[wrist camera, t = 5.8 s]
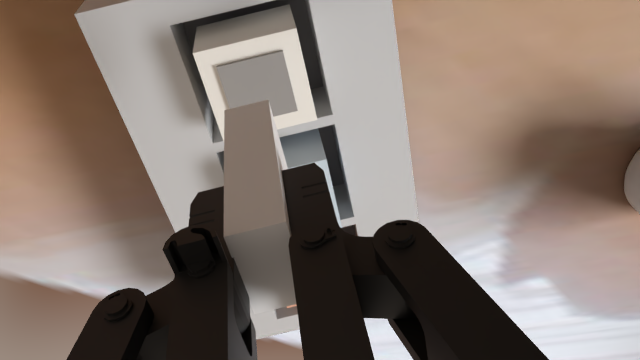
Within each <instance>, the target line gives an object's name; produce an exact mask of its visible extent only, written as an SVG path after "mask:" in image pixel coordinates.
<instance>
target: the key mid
mask: <svg viewBox="0 0 640 360" xmlns="http://www.w3.org/2000/svg"><path fill="white" fill-rule="evenodd" d="M279 139H280V142H281V146H282V149H283V153H284V156H285V160H286V163H287V167H288V169H290V168H294V167H298V166H302V165H306V164H310V163H315V164H317V165H318V166H319V167H320V168H321V169H323V170H324V174H325V177H326V181H327V185H328V189H329V192H330V196H331V200H332V203H333V207H334V211H335V215H336V218H337V222H338V224H339V226H340V228H342V225H341V220H340V216H339V212H338V207H337V203H336V199H335V194H334V190H333V185H332V181H331V177H330V172H329V168H328V164H327V159H326V156H325V152H324V148H323V144H322V141H321V137H320V133H319V130H318V128H317V129H313V130H309V131H305V132H300V133H296V134H292V135H288V136H284V137H280V138H279Z"/></svg>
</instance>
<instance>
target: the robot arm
mask: <svg viewBox="0 0 640 360" xmlns="http://www.w3.org/2000/svg"><path fill="white" fill-rule="evenodd" d="M189 217H190V218H189V225H188V227H186V228H183V229H181V230H179V231H178V232H176V233H175V234H173V235H172V236H171V237H170V238H169V239H168V240H167V241H166V243H165V245H164V248H163V251H164V253H165V255H166V257H167V259H168V261H169V263H170V265H171V267H172V269H173V271H174V273H175V277H174V280H173V281H172V282H170V283H169V284H168V285H166V286H164V287H162V288H161V289H159V290H157V291H155V292H153V293H151V294H149V295H147V296H145V295H144V293H143V292H141V291H140V290H138V289H133V288H127V289H122V290H118V291H116V292H114V293H112V294H110V295H108V296H107V297H105V298H104V299H103V300H102V301H100V302H99V303H98V305H97V306H96V307H95V309H94V310H93V311H92V314H91V315H90V317H89V319H88V321H87V323H86V324H85V326H84V328H83V330H82V332H81V334H80V336H79V337H78V340H77V341H76V343H75V345H74V347H73V349H72V351H71V352H70V354H69V356H68V358H67V360H257V347H256V330H255V327H254V324H253V322H252V319H251V317H250V305H251V307H252V310H253V312H254V314H258V313H262V312H266V311H270V310H274V309H278V308H282V307H286V306H290V305H295V304H296V305H297V312H298V320H299V327H300V334H301V342H302V349H303V356H304V360H374V356H373V352H372V349H371V345H370V341H369V337H368V333H367V330H366V326H365V322H364V318H384V319H388V321H389V324H390V325H391V327H392V328H393V330H394V331H395V333H396V334H397V336H398V337H399V339H400V340H401V342H402V343H403V345H404V346H405V347H406V349H407V350H408V352H409V353H410V355H411V356H412V358H413V359H414V360H549V359H548V358H547V357H546V356H545V355H544V354H543V353H542V352H541V351H540V350H539V349H538V347H537V346H536V345H535V344H534V343H533V342H532V341H531V340H530V339H529V338H528V337H527V336H526V335H525V334H524V333H523V331H522V330H521V329H520V328H519V327H518V326H517V325H516V324H515V323H514V322H513V321H512V320H511V319H510V318H509V316H508V315H507V314H506V313H505V312H504V311H503V310H502V309H501V308H500V307H499V306H498V305H497V304H496V303H495V302H494V300H493V299H492V298H491V297H490V296H489V295H488V294H487V293H486V292H485V291H484V290H483V289H482V288H481V287H480V286H479V284H478V283H477V282H476V281H475V280H474V279H473V278H472V277H471V276H470V275H469V274H468V273H467V272H466V271H465V269H464V268H463V267H462V266H461V265H460V264H459V263H458V262H457V261H456V260H455V259H454V258H453V257H452V256H451V255H450V253H449V252H448V251H447V250H446V249H445V248H444V247H443V246H442V245H441V244H440V243H439V242H438V241H437V240H436V239H435V237H434V236H433V235H432V234H431V233H430V232H429V231H428V230H427V229H426V228H425V227H424V226H422V225H421V224H419V223H418V222H414V221H411V220H396V221H392V222H389V223H386V224H385V225H383V226H381V227H380V228H379V229H378V230H377V231H376V232H375V234H374V236H373V237H363V236H355V235H351V234H349V233H347V232H345V231H344V230H343V229H341V228H340V226H339V224H338V222H337V218H336V215H335V211H334V207H333V203H332V200H331V196H330V192H329V189H328V185H327V181H326V177H325V174H324V170H323V169H321V168H320V167H319V166H318V165H317V164H315V163H310V164H306V165H302V166H298V167H294V168H290V169H288V167H287V163H286V160H285V156H284V153H283V149H282V146H281V142H280V139H279V135H278V131H277V128H276V124H275V121H274V117H273V114H272V110H271V107H270V103H269V99H268V100H264V101H260V102H256V103H252V104H248V105H244V106H240V107H236V108H232V109H228V110H224V186H222V187H218V188H214V189H210V190H206V191H202V192H198V193H197V195H196V197H195V198H194V200H193V201H192V203H191V204H190V214H189Z"/></svg>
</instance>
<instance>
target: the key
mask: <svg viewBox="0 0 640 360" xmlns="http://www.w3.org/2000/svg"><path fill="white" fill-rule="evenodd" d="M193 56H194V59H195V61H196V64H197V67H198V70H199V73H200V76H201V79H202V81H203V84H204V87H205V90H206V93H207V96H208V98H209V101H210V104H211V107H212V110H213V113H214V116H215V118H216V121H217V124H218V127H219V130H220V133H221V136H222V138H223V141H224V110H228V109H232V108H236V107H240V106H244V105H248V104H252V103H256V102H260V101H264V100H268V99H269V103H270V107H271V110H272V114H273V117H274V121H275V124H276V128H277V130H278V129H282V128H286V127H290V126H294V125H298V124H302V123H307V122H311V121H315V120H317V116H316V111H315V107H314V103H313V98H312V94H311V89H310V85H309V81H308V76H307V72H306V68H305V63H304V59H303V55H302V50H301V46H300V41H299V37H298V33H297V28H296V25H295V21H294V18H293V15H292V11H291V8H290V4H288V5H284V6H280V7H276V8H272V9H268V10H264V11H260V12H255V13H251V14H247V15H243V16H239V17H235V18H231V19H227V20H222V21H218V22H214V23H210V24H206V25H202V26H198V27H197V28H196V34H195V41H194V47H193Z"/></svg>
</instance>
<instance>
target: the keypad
mask: <svg viewBox="0 0 640 360" xmlns="http://www.w3.org/2000/svg"><path fill="white" fill-rule="evenodd" d="M288 4H290V8H291V11H292V15H293V18H294V21H295V25H296V28H297V33H298V37H299V41H300V46H301V50H302V55H303V59H304V63H305V68H306V72H307V76H308V81H309V85H310V89H311V94H312V98H313V103H314V107H315V111H316V116H317V120H315V121H311V122H307V123H302V124H298V125H294V126H290V127H286V128H282V129H278V130H277V131H278V135H279V138H280V137H284V136H288V135H292V134H296V133H300V132H305V131H309V130H313V129H317V128H318V130H319V133H320V137H321V141H322V144H323V148H324V152H325V156H326V159H327V164H328V168H329V172H330V177H331V181H332V185H333V190H334V194H335V199H336V203H337V207H338V212H339V216H340V220H341V225H342V228H341V229H343V230H344V231H345V232H347V233H349V234H351V235H355V236H363V237H373V236H374V234H375V232H376V231H377V230H378V229H379V228H380V227H381V226H383V225H385V224H386V223H389V222H392V221H396V220H411V221H414V222H418V223H419V218H418V210H417V202H416V194H415V186H414V177H413V169H412V161H411V153H410V145H409V136H408V128H407V120H406V112H405V104H404V95H403V87H402V79H401V71H400V63H399V54H398V46H397V38H396V30H395V22H394V13H393V5H392V0H84V2H83V3H82V4H81V6H80V7H79V8H78V10H77V11H76V13H75V14H74V15H75V17H76V19H77V21H78V23H79V26H80V28H81V30H82V32H83V34H84V36H85V39H86V41H87V43H88V45H89V47H90V49H91V52H92V54H93V56H94V58H95V60H96V62H97V65H98V67H99V69H100V71H101V73H102V75H103V77H104V80H105V82H106V84H107V86H108V88H109V90H110V93H111V95H112V97H113V99H114V101H115V103H116V106H117V108H118V110H119V112H120V114H121V116H122V119H123V121H124V123H125V125H126V127H127V129H128V131H129V134H130V136H131V138H132V140H133V142H134V144H135V147H136V149H137V151H138V153H139V155H140V157H141V160H142V162H143V164H144V166H145V168H146V170H147V173H148V175H149V177H150V179H151V181H152V183H153V185H154V188H155V190H156V192H157V194H158V196H159V198H160V201H161V203H162V205H163V207H164V209H165V211H166V214H167V216H168V218H169V220H170V222H171V224H172V227H173V229H174V231H175V233H176V232H178V231H179V230H181V229H183V228H186V227H188V225H189V218H190V217H189V214H190V204H191V203H192V201H193V200H194V198H195V197H196V195H197V193H198V192H202V191H206V190H210V189H214V188H218V187H222V186H224V141H223V138H222V136H221V133H220V130H219V127H218V124H217V121H216V118H215V116H214V113H213V110H212V107H211V104H210V101H209V98H208V96H207V93H206V90H205V87H204V84H203V81H202V79H201V76H200V73H199V70H198V67H197V64H196V61H195V59H194V56H193V47H194V41H195V34H196V28H197V27H198V26H202V25H206V24H210V23H214V22H218V21H222V20H227V19H231V18H235V17H239V16H243V15H247V14H251V13H255V12H260V11H264V10H268V9H272V8H276V7H280V6H284V5H288ZM250 317H251V319H252V322H253V324H254V327H255V330H256V340H257V339H261V338H265V337H269V336H273V335H277V334H281V333H286V332H290V331H294V330H298V329H300V327H299V320H298V312H297V306H294V307H290V308H287V307H282V308H278V309H274V310H270V311H266V312H262V313H258V314H254V312H253V310H252V307H251V305H250Z"/></svg>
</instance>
